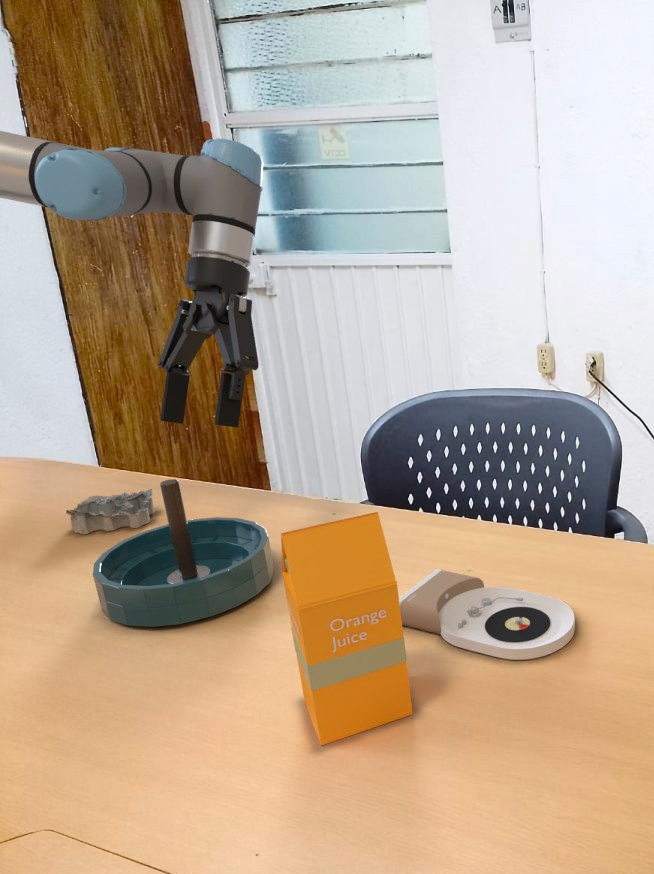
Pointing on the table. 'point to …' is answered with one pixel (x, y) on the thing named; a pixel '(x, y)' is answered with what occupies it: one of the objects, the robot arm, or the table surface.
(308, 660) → the orange juice
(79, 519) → the egg carton
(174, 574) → the brown rod
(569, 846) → the table surface
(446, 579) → the record player
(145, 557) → the bowl
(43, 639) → the table surface
